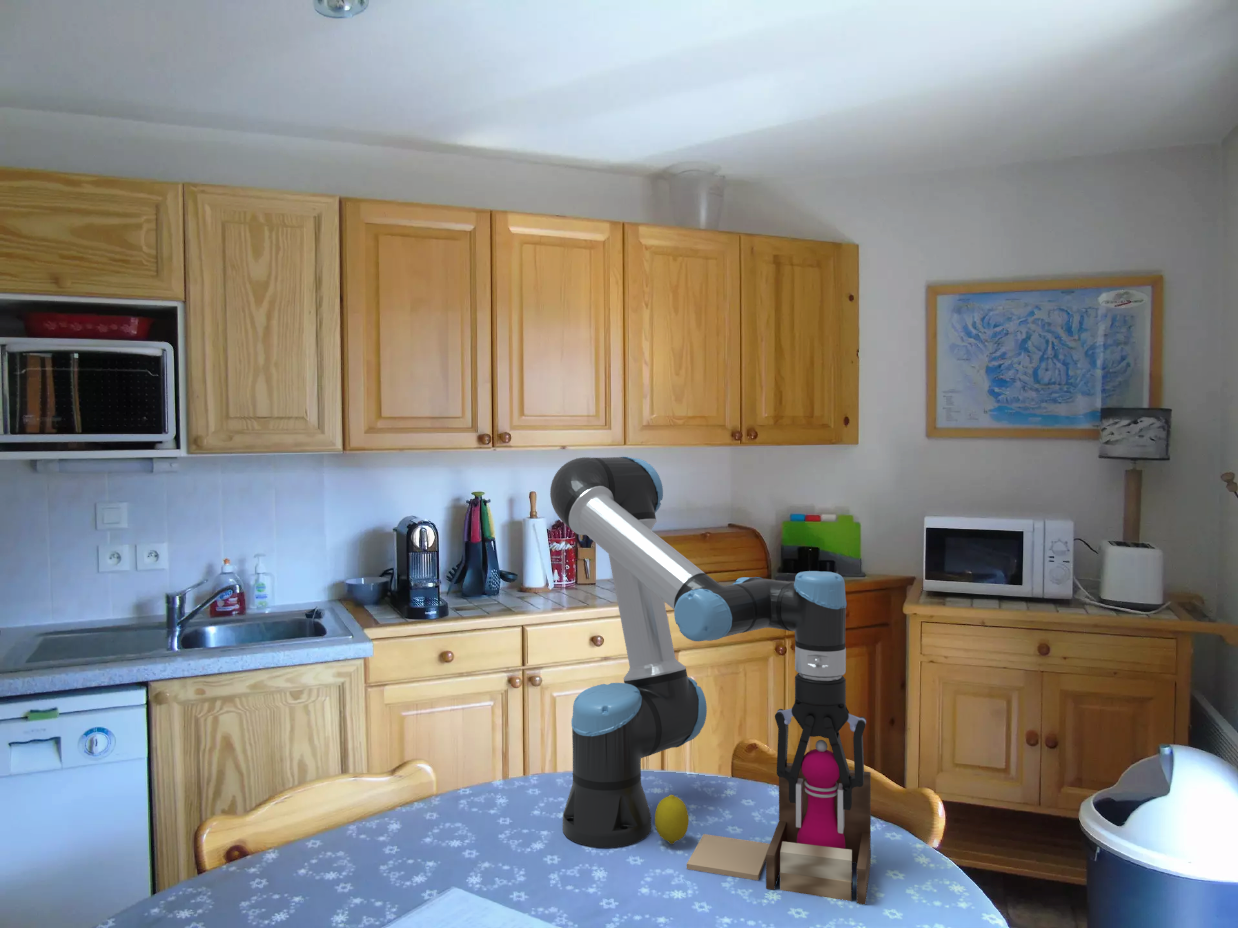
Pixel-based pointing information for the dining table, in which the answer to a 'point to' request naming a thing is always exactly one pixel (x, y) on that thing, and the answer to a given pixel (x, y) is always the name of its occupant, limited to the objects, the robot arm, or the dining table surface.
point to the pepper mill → (820, 799)
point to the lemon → (671, 819)
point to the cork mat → (729, 857)
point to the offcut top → (816, 861)
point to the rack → (854, 819)
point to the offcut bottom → (817, 886)
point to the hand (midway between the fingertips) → (820, 826)
